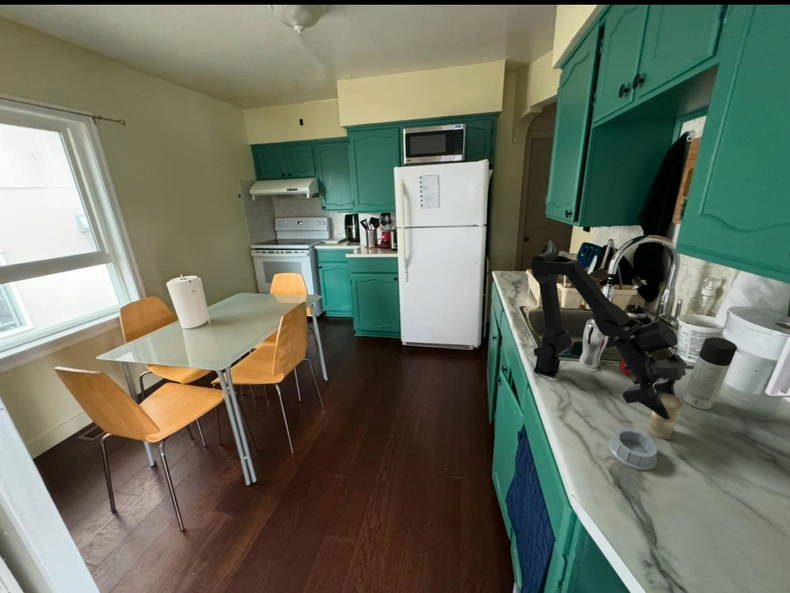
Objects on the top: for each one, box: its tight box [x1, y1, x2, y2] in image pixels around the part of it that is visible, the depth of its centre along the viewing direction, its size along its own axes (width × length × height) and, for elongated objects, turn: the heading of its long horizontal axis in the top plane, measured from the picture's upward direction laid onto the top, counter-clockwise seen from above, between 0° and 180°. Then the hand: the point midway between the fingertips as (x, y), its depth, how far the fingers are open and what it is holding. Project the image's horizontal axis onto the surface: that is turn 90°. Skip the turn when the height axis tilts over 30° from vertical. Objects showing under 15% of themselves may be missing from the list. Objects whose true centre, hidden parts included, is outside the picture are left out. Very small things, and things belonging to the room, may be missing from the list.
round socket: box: [607, 427, 658, 471], centre depth 86 cm, size 10×10×4 cm
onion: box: [618, 358, 634, 377], centre depth 112 cm, size 6×6×8 cm
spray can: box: [682, 336, 738, 410], centre depth 98 cm, size 7×7×20 cm
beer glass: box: [579, 318, 609, 369], centre depth 117 cm, size 7×7×15 cm
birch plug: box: [646, 393, 684, 440], centre depth 90 cm, size 5×5×10 cm
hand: (672, 414), depth 89 cm, fingers closed on birch plug, 5 cm apart
